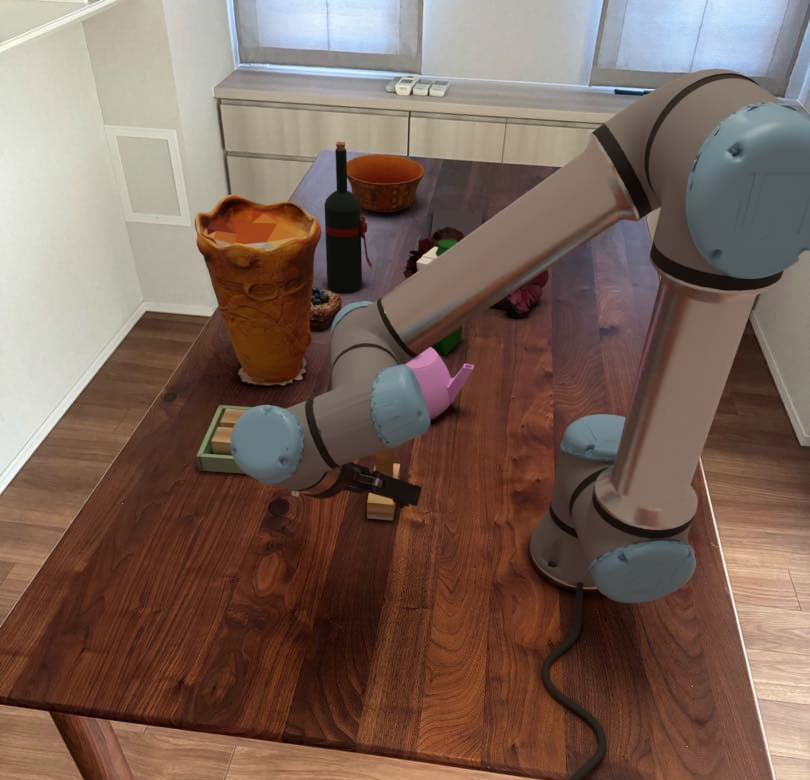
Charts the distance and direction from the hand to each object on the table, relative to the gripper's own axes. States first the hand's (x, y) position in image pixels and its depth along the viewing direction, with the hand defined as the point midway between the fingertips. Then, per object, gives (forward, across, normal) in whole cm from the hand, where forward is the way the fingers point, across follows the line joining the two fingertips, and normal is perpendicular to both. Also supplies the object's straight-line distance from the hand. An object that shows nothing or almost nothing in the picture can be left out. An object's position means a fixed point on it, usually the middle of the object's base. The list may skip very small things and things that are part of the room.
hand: (363, 485), depth 113 cm
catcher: (+16, -28, +2) cm, 32 cm away
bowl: (+92, -43, +78) cm, 128 cm away
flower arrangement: (+64, -6, +50) cm, 82 cm away
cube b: (+18, -30, +4) cm, 35 cm away
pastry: (+48, -35, +34) cm, 69 cm away
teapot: (+32, -5, +18) cm, 37 cm away
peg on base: (+13, 0, 0) cm, 13 cm away
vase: (+32, -33, +18) cm, 49 cm away
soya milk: (+48, -7, +34) cm, 59 cm away
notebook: (+86, -20, +72) cm, 115 cm away
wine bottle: (+60, -34, +46) cm, 82 cm away
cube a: (+14, -28, 0) cm, 32 cm away
